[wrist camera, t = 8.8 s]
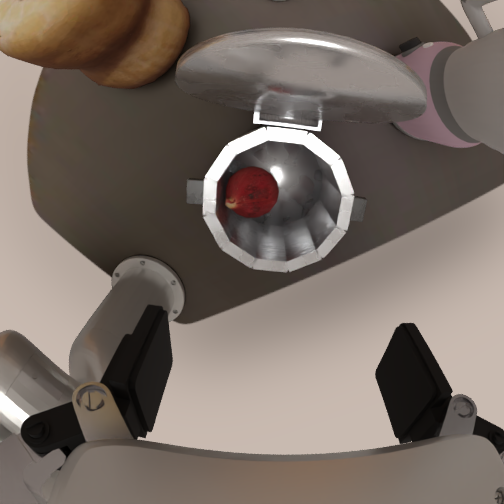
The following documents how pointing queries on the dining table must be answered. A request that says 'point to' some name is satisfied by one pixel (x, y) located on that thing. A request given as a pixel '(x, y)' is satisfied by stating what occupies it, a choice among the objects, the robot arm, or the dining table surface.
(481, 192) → the dining table surface
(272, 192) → the red pomegranate
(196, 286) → the dining table surface
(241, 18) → the dining table surface
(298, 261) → the pot
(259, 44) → the lid
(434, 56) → the blender
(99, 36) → the butternut squash
